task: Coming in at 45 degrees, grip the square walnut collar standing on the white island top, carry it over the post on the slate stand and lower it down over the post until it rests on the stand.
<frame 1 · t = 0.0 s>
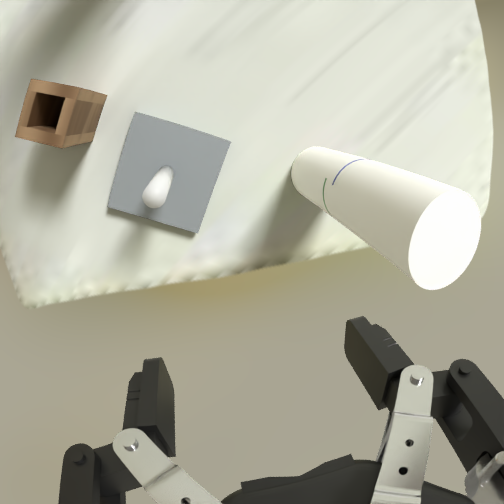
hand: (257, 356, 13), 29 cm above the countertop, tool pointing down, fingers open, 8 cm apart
collar: (79, 113, 32), on the countertop
post stand: (167, 171, 37), on the countertop
cylindrical container: (316, 172, 41), on the countertop
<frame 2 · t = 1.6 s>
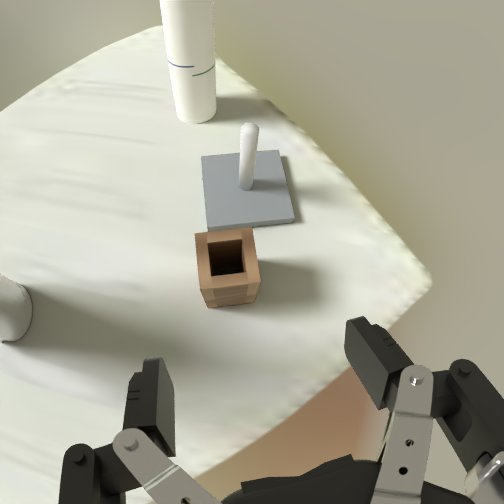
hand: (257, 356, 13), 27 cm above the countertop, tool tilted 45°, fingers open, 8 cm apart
collar: (228, 282, 41), on the countertop
post stand: (245, 190, 46), on the countertop
cylindrical container: (196, 110, 52), on the countertop
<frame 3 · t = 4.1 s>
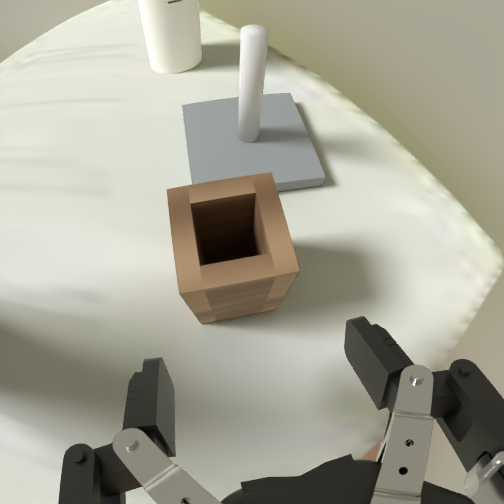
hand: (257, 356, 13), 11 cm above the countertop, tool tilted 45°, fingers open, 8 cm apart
collar: (231, 281, 26), on the countertop
post stand: (247, 145, 31), on the countertop
cylindrical container: (176, 60, 37), on the countertop
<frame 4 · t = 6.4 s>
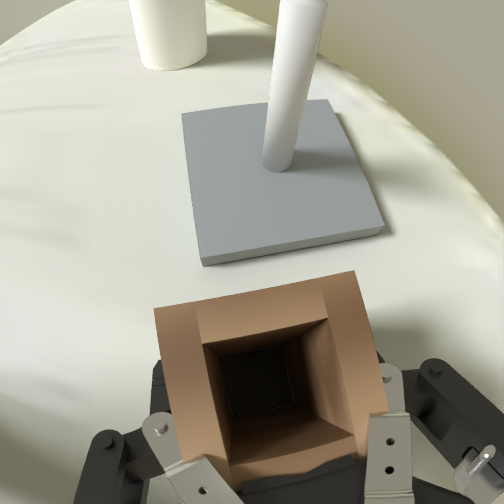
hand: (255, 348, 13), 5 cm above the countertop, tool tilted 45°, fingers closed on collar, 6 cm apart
collar: (257, 381, 17), on the countertop, touching gripper
post stand: (274, 173, 22), on the countertop
cylindrical container: (174, 54, 28), on the countertop
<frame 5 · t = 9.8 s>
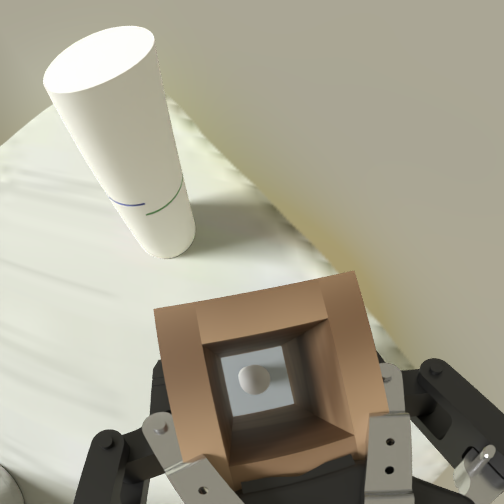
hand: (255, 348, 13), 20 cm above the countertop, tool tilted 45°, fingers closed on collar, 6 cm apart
collar: (257, 381, 17), point 16 cm above the countertop, touching gripper
post stand: (247, 375, 32), on the countertop
cylindrical container: (166, 231, 37), on the countertop
when the fingers open (8 cm above the countertop, at t = 13.0 s): collar drops 2 cm, resting on post stand.
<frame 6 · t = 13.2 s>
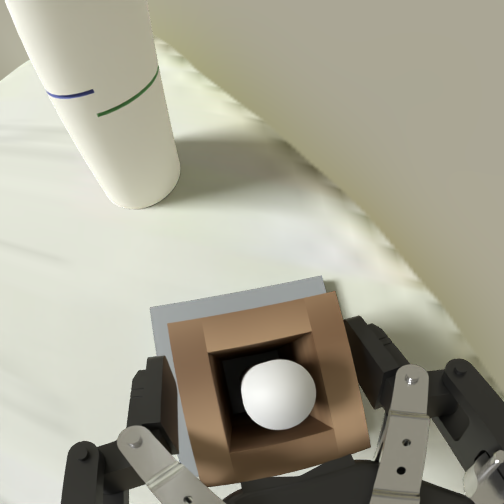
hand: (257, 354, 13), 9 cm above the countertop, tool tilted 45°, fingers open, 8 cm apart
collar: (255, 382, 19), point 2 cm above the countertop, touching post stand
post stand: (254, 379, 20), on the countertop
cylindrical container: (141, 175, 26), on the countertop
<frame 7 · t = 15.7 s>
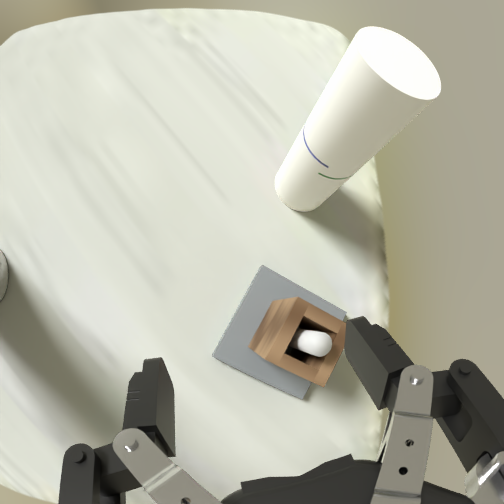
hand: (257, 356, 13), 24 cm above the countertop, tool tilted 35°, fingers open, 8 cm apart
collar: (282, 335, 36), point 1 cm above the countertop, touching post stand
post stand: (280, 333, 37), on the countertop
cylindrical container: (300, 186, 41), on the countertop
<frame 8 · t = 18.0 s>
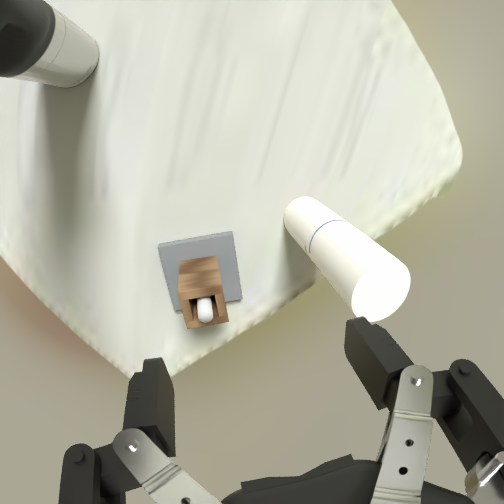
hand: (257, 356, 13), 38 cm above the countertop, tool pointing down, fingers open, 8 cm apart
collar: (201, 274, 51), point 1 cm above the countertop, touching post stand
post stand: (201, 270, 53), on the countertop
cylindrical container: (303, 217, 52), on the countertop
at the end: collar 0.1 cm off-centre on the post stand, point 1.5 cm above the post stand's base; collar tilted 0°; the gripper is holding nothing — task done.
